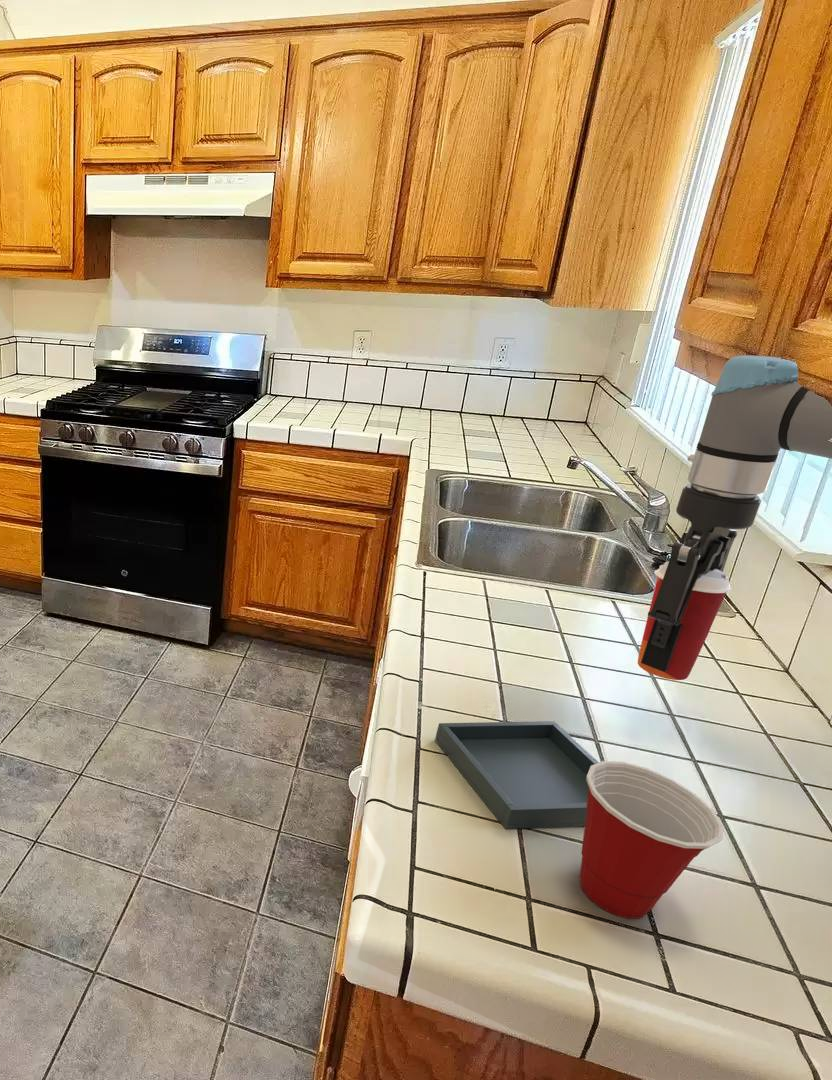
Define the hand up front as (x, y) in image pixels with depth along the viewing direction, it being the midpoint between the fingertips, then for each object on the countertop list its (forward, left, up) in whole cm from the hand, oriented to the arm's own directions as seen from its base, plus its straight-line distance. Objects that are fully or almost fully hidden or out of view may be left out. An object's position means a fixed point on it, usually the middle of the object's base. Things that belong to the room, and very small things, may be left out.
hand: (665, 659), depth 98 cm
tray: (-11, +23, -10) cm, 27 cm away
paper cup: (0, 0, -2) cm, 2 cm away
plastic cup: (-28, +25, -10) cm, 39 cm away
